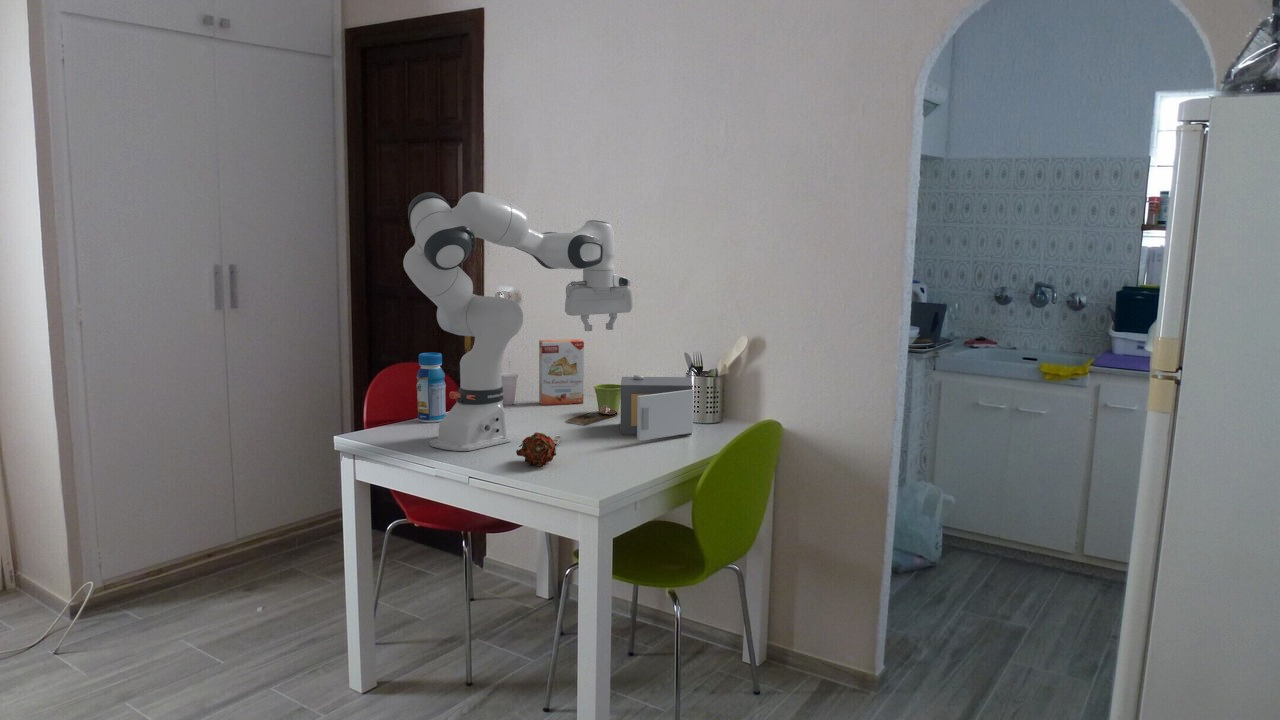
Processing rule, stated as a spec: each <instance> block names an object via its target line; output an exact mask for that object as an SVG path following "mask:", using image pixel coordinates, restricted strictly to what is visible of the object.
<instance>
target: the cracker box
mask: <svg viewBox="0 0 1280 720" xmlns="http://www.w3.org/2000/svg"><path fill="white" fill-rule="evenodd" d="M538 340H539V341H538V344H539V345H538V347H539V348H538V349H539V352H538V359H539V360H538V371H539V372H538V375H539V376H538V393H539V395H538V397H539V398H538V399H539V400H538V401H539V403H540V404H541V405H542V406H549V405H551V406H552V405H553V406H554V405H555V404H556V405H573V404H572V403H583V404H584V394H585V393H584V389H585V388H584V386H585V385H584V382H585V381H584V379H585V377H584V376H585V375H584V372H585V369H584V368H585V341H584V340H582V339H581V338H576V339H575V338H571V339H568V338H567V339H538ZM556 405H555V406H556Z"/></svg>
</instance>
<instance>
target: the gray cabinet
mask: <svg viewBox="0 0 1280 720" xmlns="http://www.w3.org/2000/svg"><path fill="white" fill-rule="evenodd" d="M620 385H621V399H620V435H637V396H642V395H650V394H659V393H667V392H675V391H683V390H694V389H693V387H694V386H693V382H692V379H691V376H687V377H686V376H677V377H676V376H645V375H644V374H635V375H633V376H621V380H620ZM683 435H684V436H689V435H690V436H692V435H693V433H687V434H681V435H680V436H683Z"/></svg>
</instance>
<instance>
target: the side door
mask: <svg viewBox="0 0 1280 720" xmlns="http://www.w3.org/2000/svg"><path fill="white" fill-rule="evenodd" d="M687 433H692V434H693V433H694V389H693V390H683V391H675V392H667V393H659V394H650V395H642V396H637V434H636V441H639V442H641V441H648V440H654V439H660V438H661V439H662V438H668V437H673V436H679V435H680V436H682V435H681V434H687Z"/></svg>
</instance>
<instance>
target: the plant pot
mask: <svg viewBox="0 0 1280 720" xmlns="http://www.w3.org/2000/svg"><path fill="white" fill-rule="evenodd" d="M592 387H593V389H594V392H595V395H596V401H597V402H596V403H597V409H598V412H599V411H600V409H601V407H602V406H603V404H604V403H605V404H604V405H607V407H608V408H610V409H613V410H615V411H616V412H617V414H616V415H618V414H619V412H620V407H621V384H617V383H601V384H595V385H593V386H592Z"/></svg>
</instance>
